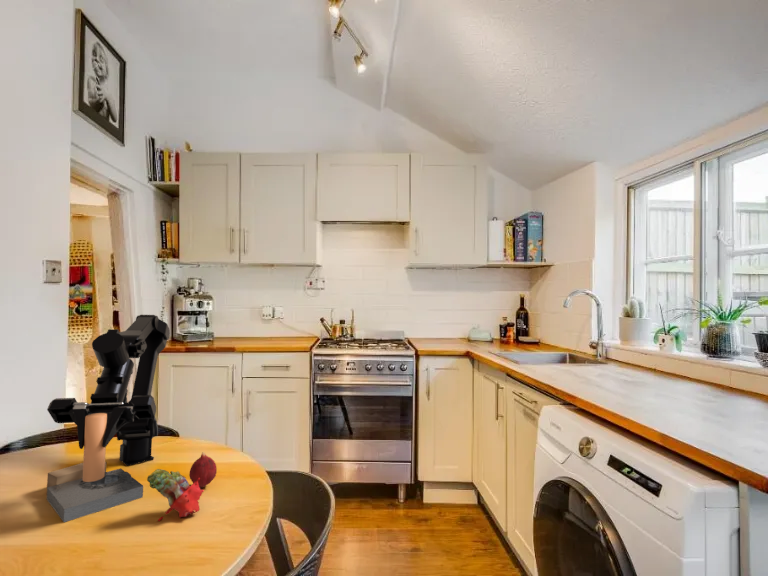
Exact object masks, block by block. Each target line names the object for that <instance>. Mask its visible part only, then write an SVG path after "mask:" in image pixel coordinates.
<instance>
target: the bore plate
mask: <svg viewBox="0 0 768 576" xmlns="http://www.w3.org/2000/svg"><path fill="white" fill-rule="evenodd" d="M143 497H144V485H143V484H142V483H141V482H139V481H138V480H136V479H135V477H133V476H132V474H130V473H129V471H125V470H123V469H122V468H116V469H113V470H109V471H106V472H105V475H104V477H103V478H102V479H100V480H97V481H92V482H84V481H83V478H82V479H78V480H74V481H70V482H66V483H62V484H59V485H55V486H51V487H47V486H46V501H47V502H48V503H49V505H51V507H52V508H53V510H54V511H55V512H56V515H58V517H59V518H60V519H61V522H63V523H67V522H69V521H73V520H75V519H76V520H77V519H79V518H82V517H85V516H88V515H91V514H95V513H99V512H101V511H105V510H107V509H111V508H113V507H116V506H120V505H123V504H126V503H130V502H132V501H136V500H138V499H142V498H143Z"/></svg>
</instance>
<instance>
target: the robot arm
mask: <svg viewBox="0 0 768 576" xmlns="http://www.w3.org/2000/svg"><path fill="white" fill-rule="evenodd" d="M170 335H171V332H170V328H169V325H168V323H166V322H165V321H164V320H162V319H160V318H159V317H158V315H156V314H139V315H136V317H135V319H134V321H133V322H132V323H131V325H129V327H128V328H127V329H126V330H124V331H120V330H119V328H118V329H112V328H111V329H107V332H105V333H103V334H101V335H98V336H97V337H96V338H94V339H93V340H92V343H91V347H92V350H93V352H94V354H95V357H96V360H97V363H98V364H99V366H100V367H102V368H103V369H102V371H101V374H100V376H98V377H97V378H96V384H97V385H96V388H95V391H94V393H91V395H90V396H89V397H90V400H91V402H90V403H89V402H83V401H82V402H80V401H79V402H78V401H77V399H76V397H63V398H62V397H61V398H59V397H58V398H54V399H52V400H51V401H50V402H49V405H48V407H47V409H46V410H47V412H48V413H49V415H50V417H51V418H52V419H53V421H54V423H57V424H71V423H74V424H75V425H76V430H77V439H78V447H79V449H81V450H82V449H83V450H84V436H85V417H86V416H87V415H90V414H95V413H106V414H107V428H106V432H105V435H104V438H103V443H102V446H103V447H107V446H108V445H109V443H110V442H111V441H112V440H113V438H114V437H115V435H116V440H117V441H122V444H120V446H119V461H120V462H121V463H123V464H124V465H125V466H126V467H127V466H128V467H129V466H133V465H137V464H141V463H145V462H149V461H151V460H152V461H153V460H154V456H152V447H153V445H152V444H153V438H156V437H158V435H159V427H158V426H159V425H158V421H157V419H156V412H157V404H156V402H155V401H156V400H155V398H154V397H153V396H152V390H153V386H154V385H153V384H154V378H155V375H156V374H155V373H156V369H157V363H158V358H159V357H158V356H159V354H160V353H162V352H163V350H164V349H165V348H166V347H167V341H168V340H169V339H170ZM132 359H139V360H138V363H137V364H138V365H137V368H136V375H135V379H134V382H133V383H134V384H133V388H132V393H131V398H130V400H129V401H128V392H129V390H128V387H129V384H130V379H131V377H132V375H133V373H134V366H135V363H134V361H133V360H132Z"/></svg>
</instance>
